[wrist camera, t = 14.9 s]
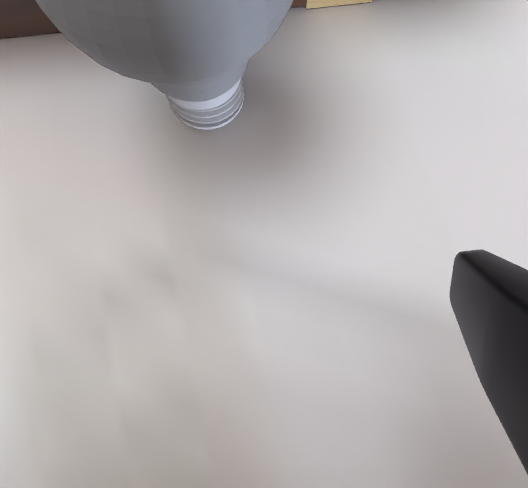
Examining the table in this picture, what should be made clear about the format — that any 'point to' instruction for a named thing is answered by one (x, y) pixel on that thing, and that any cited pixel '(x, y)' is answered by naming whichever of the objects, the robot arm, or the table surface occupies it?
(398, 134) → the table surface
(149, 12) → the light bulb
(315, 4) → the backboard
